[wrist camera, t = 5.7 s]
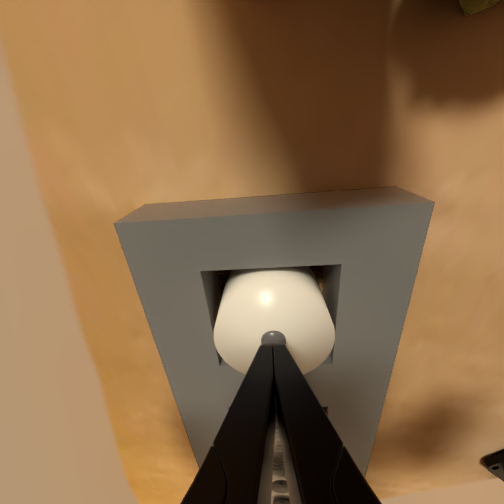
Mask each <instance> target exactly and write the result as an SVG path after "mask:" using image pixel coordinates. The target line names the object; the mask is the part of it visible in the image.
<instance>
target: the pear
mask: <svg viewBox="0 0 504 504" xmlns="http://www.w3.org/2000/svg"><path fill="white" fill-rule="evenodd" d="M499 1H500V0H459V4H460V6H461V7H462V8H463V11H464V14H465V15H471V14H473V13H476V12H479V11H481V10H484V9H486V8H489V7H491V6H493V5H494V4H496V3H497V2H499Z"/></svg>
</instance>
